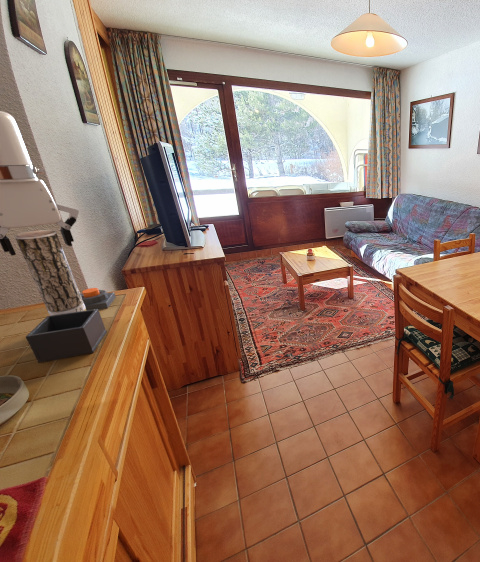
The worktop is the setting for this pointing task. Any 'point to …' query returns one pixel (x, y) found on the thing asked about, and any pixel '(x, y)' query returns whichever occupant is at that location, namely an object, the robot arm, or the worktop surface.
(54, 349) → the dock
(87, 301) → the block
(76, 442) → the worktop surface
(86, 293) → the release button
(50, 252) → the bark log cylinder
